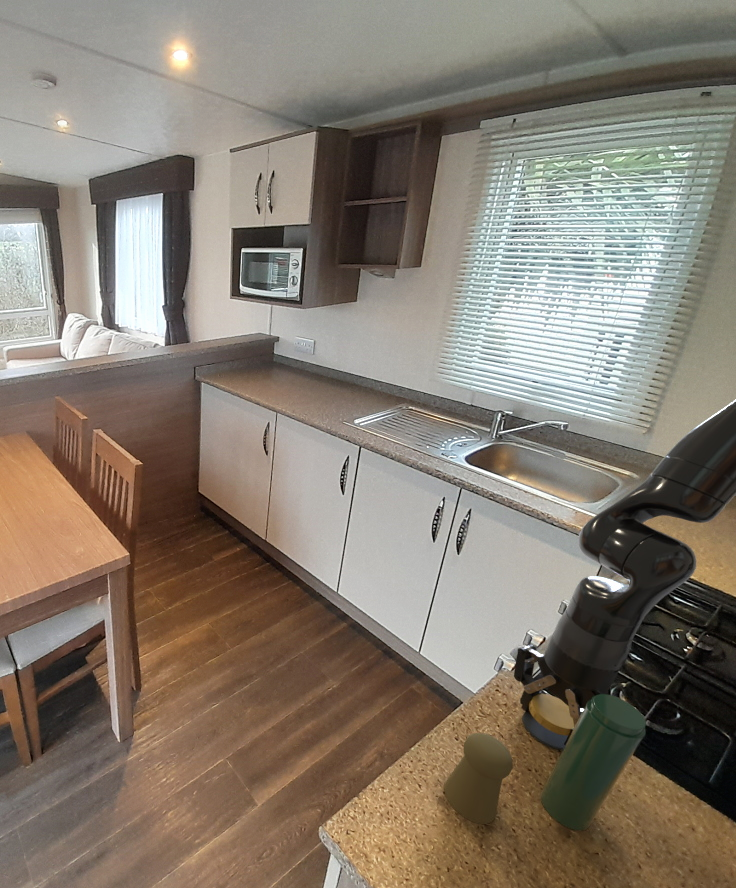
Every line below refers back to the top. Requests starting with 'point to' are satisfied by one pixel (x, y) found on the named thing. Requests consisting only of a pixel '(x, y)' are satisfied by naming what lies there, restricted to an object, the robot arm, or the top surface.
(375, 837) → the top surface
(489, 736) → the cork
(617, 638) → the robot arm
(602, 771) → the cylinder
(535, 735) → the coaster
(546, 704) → the jar lid
